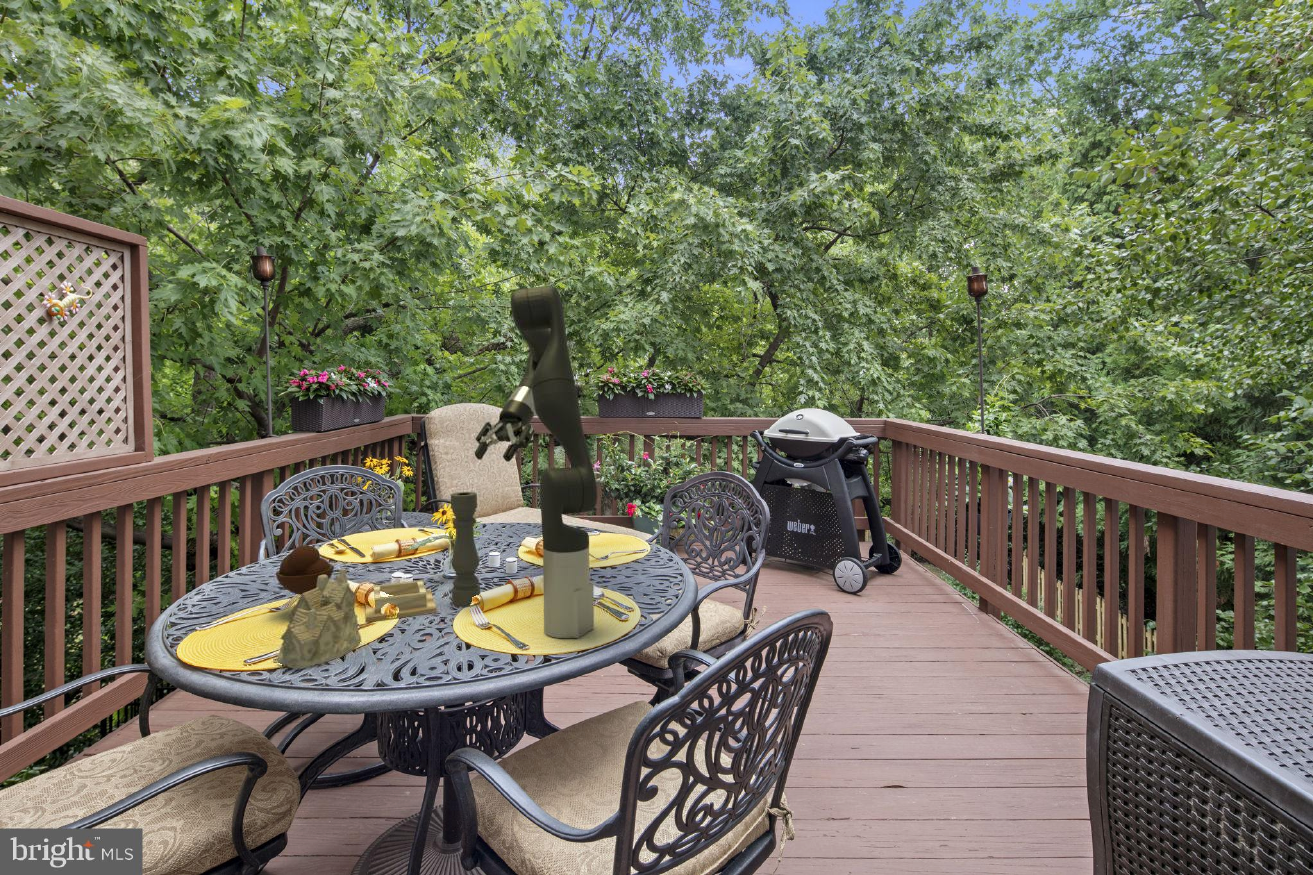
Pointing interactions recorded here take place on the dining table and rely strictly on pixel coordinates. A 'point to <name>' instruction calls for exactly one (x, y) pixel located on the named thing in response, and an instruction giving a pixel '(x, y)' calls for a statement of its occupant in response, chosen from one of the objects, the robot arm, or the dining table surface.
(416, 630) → the dining table surface
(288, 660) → the ceramic cottage
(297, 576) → the ice cream bowl
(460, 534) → the candle holder
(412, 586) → the socket base
